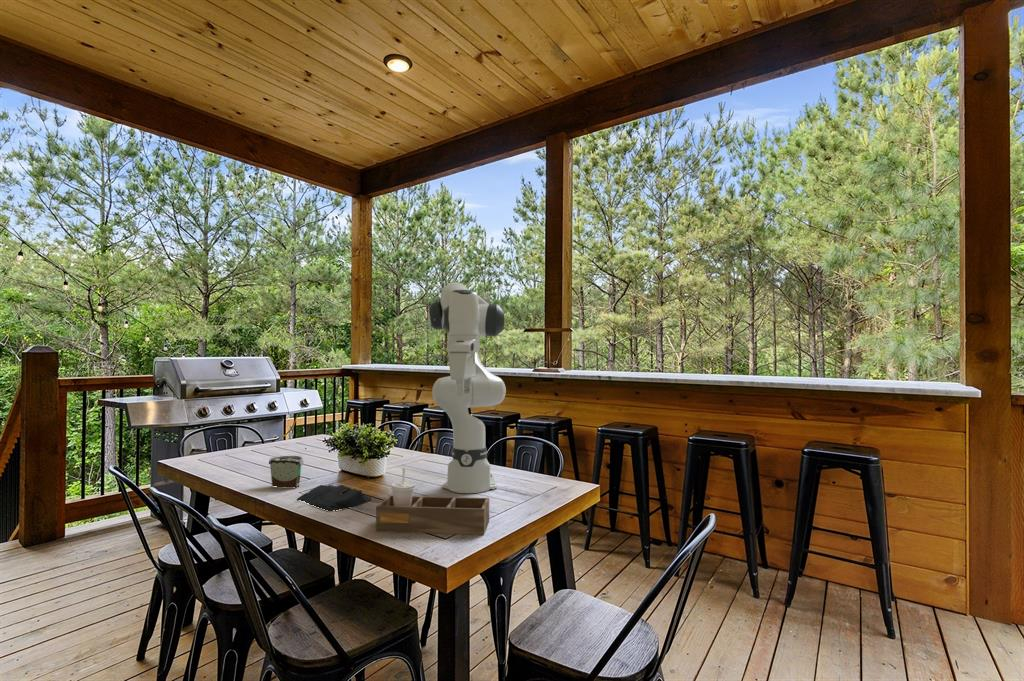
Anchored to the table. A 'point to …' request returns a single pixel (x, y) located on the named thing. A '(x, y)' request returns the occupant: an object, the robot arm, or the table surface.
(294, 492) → the table surface
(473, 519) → the caddy
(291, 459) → the food container
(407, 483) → the smoothie
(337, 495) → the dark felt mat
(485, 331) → the robot arm
